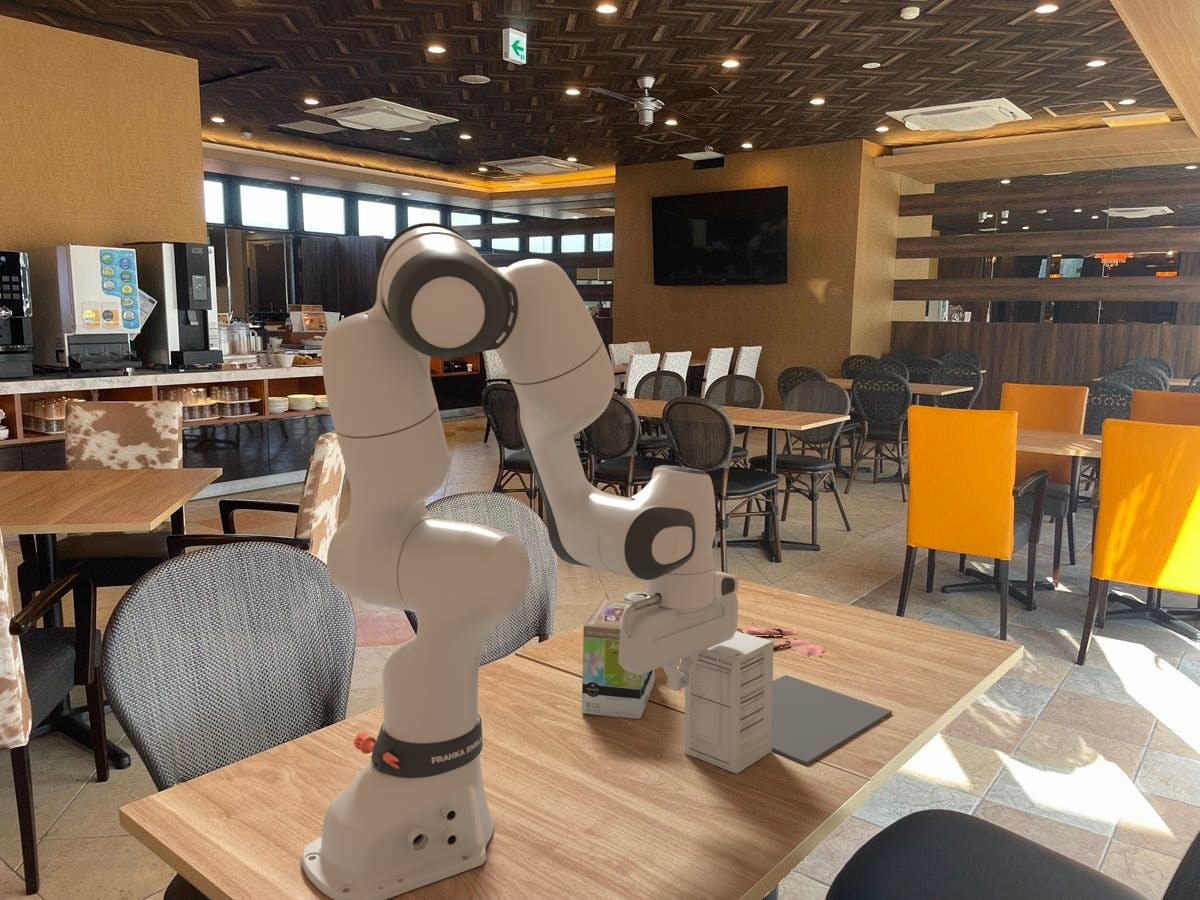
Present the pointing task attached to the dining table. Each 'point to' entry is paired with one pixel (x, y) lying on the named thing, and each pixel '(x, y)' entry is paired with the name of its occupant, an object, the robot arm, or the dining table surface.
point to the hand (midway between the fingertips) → (679, 686)
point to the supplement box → (731, 703)
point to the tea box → (610, 667)
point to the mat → (816, 719)
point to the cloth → (779, 631)
